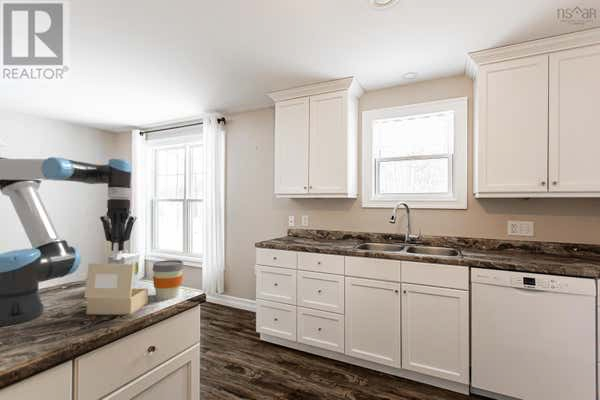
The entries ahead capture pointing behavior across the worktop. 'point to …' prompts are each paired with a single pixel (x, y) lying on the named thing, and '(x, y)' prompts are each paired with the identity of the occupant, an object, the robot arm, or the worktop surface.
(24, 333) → the worktop surface
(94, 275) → the lid
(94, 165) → the robot arm
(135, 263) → the supplement box
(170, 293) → the reusable coffee cup
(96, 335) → the worktop surface
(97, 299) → the mailer
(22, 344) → the worktop surface
